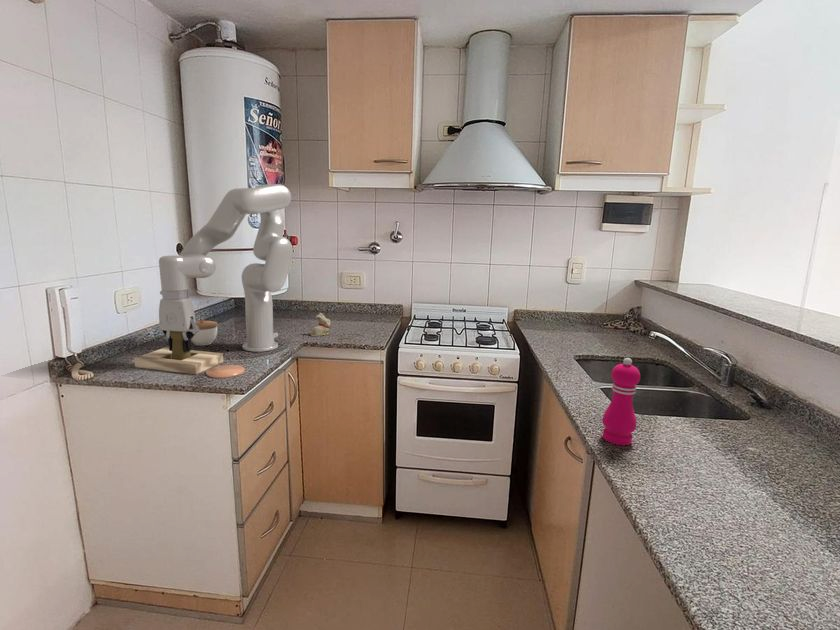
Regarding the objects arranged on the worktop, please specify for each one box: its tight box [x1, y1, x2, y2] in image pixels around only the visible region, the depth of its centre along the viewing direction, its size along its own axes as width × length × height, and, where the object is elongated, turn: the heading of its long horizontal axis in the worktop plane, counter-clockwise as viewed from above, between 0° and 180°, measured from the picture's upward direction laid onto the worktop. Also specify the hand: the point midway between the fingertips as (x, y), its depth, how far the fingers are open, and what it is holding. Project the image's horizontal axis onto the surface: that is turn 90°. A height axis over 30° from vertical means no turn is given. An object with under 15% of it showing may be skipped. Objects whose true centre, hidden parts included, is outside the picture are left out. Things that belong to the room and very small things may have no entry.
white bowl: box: [191, 318, 219, 346], centre depth 166 cm, size 11×11×9 cm
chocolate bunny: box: [309, 312, 332, 336], centre depth 185 cm, size 6×8×10 cm
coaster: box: [205, 364, 246, 379], centre depth 137 cm, size 11×11×1 cm
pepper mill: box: [601, 357, 641, 447], centre depth 101 cm, size 7×7×20 cm
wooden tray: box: [133, 347, 224, 375], centre depth 142 cm, size 13×22×3 cm, turn 78°
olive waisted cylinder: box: [170, 331, 191, 360], centre depth 141 cm, size 6×6×11 cm
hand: (180, 349), depth 142 cm, fingers closed on olive waisted cylinder, 4 cm apart
